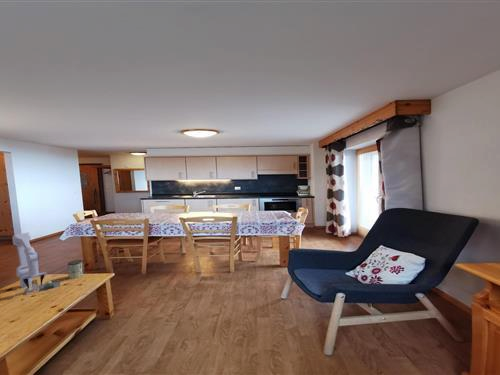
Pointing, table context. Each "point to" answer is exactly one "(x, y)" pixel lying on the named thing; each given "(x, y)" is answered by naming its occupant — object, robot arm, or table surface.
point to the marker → (34, 285)
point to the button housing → (49, 286)
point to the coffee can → (75, 269)
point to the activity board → (40, 288)
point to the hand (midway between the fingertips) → (34, 286)
